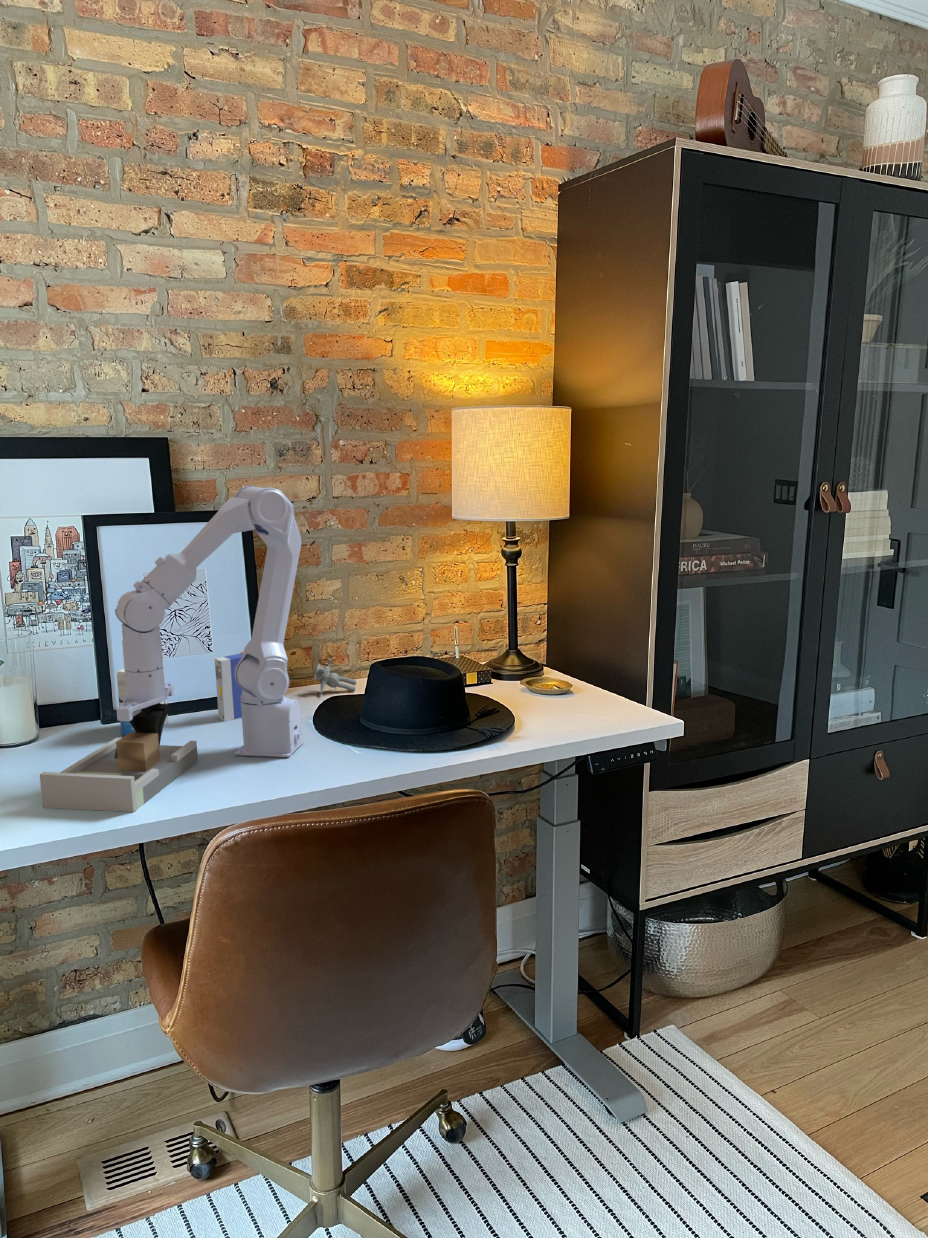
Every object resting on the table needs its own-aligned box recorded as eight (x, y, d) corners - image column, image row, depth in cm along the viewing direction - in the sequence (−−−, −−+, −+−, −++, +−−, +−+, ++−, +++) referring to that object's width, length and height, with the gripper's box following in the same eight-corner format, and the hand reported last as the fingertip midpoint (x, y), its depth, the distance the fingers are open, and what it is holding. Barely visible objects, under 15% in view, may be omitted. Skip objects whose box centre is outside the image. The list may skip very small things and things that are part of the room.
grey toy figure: (354, 699, 186) (311, 686, 185) (347, 713, 191) (305, 701, 189) (364, 660, 193) (322, 647, 191) (356, 675, 197) (316, 662, 195)
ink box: (145, 737, 164) (139, 673, 161) (120, 736, 165) (114, 672, 162) (169, 723, 172) (165, 661, 170) (145, 721, 173) (140, 660, 171)
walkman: (253, 709, 179) (250, 649, 177) (261, 712, 177) (257, 652, 175) (217, 718, 174) (212, 656, 172) (224, 721, 172) (220, 659, 170)
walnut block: (160, 761, 144) (157, 733, 143) (146, 771, 140) (143, 743, 139) (133, 759, 145) (130, 732, 144) (118, 770, 140) (115, 741, 140)
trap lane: (197, 761, 151) (195, 732, 150) (133, 812, 131) (130, 778, 130) (118, 757, 153) (115, 729, 152) (43, 807, 133) (39, 774, 132)
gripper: (143, 656, 151) (149, 735, 153) (94, 679, 137) (102, 766, 139) (183, 657, 150) (189, 737, 152) (139, 680, 136) (146, 768, 138)
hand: (150, 751), depth 146 cm, fingers closed
